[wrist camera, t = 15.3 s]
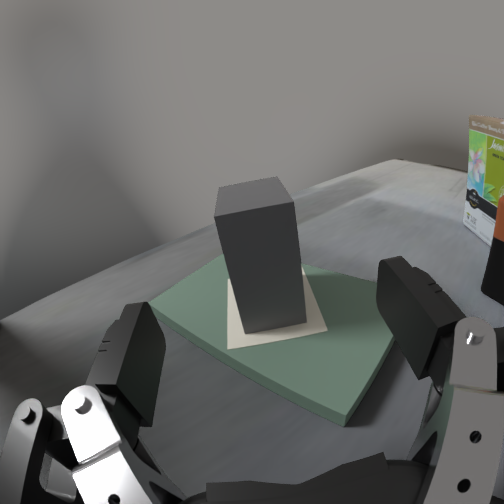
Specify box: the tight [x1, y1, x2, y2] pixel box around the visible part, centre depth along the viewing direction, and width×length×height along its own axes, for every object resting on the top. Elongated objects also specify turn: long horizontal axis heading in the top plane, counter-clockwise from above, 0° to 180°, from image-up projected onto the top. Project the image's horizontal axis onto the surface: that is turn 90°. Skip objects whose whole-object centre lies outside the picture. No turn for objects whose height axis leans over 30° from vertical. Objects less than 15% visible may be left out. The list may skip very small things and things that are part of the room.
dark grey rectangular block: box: [214, 177, 307, 334], centre depth 21 cm, size 6×4×9 cm
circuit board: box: [149, 254, 395, 427], centre depth 23 cm, size 20×12×4 cm, turn 49°
